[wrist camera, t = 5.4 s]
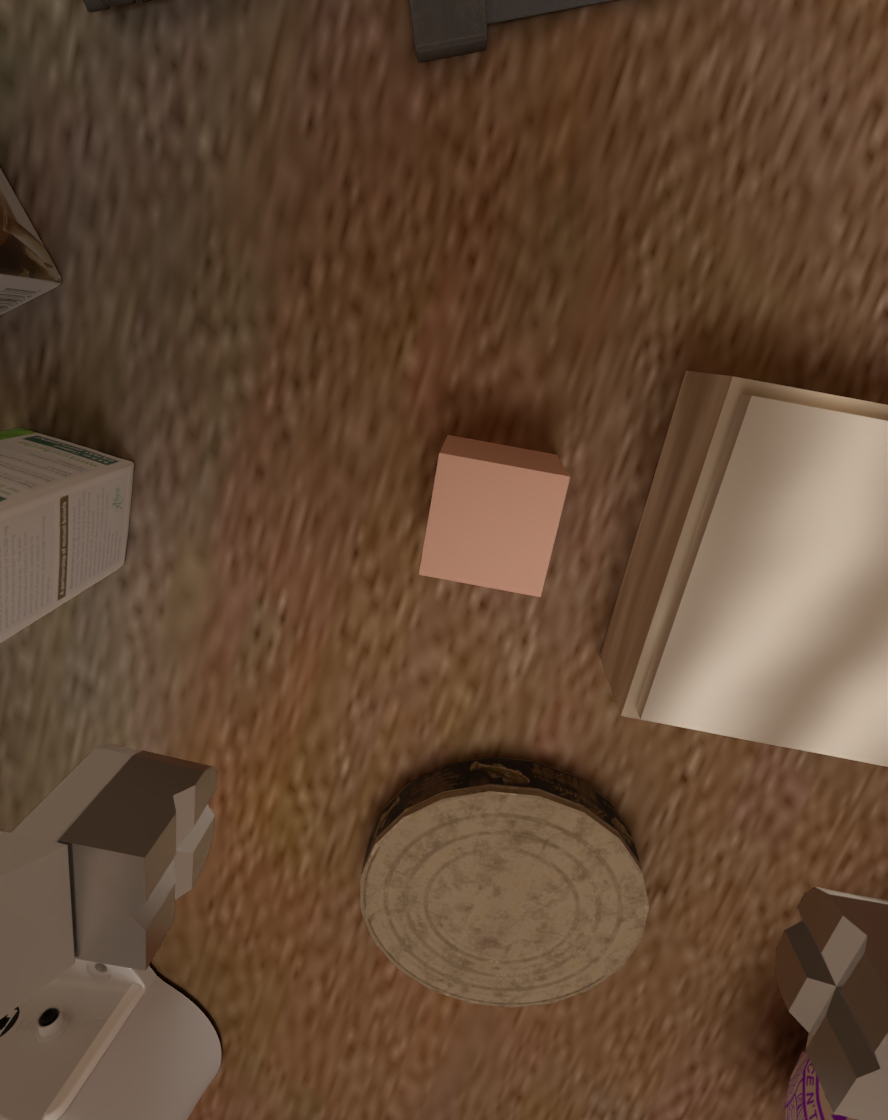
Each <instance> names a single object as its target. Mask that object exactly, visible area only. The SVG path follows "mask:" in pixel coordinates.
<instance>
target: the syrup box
mask: <svg viewBox="0 0 888 1120" xmlns="http://www.w3.org/2000/svg"><path fill="white" fill-rule="evenodd" d="M133 471H134V463H133V462H132V461H128V460H125V459H120V458H118V457H115V456H112V455H109V454H105V453H102V452H99V451H97V450H94V449H91V448H87V447H84V446H81V445H77V444H74V443H71V442H68V441H64V440H61V439H57V438H54V437H50V436H47V435H44V434H40V433H37V432H33V431H30V430H26V429H24V428H15V429H10V430H6V431H1V432H0V643H2V642H3V641H5V640H7V639H8V638H10V637H11V636H13V635H14V634H16V633H18V632H19V631H21V630H22V629H24V628H25V627H27V626H29V625H30V624H32V623H34V622H35V621H36V620H38V619H40V618H41V617H43V616H44V615H46V614H48V613H49V612H51V611H53V610H54V609H56V608H57V607H59V606H60V605H62V604H63V603H65V602H67V601H68V600H70V599H71V598H73V597H75V596H76V595H78V594H80V593H81V592H83V591H84V590H86V589H87V588H89V587H91V586H92V585H94V584H95V583H97V582H99V581H100V580H102V579H103V578H105V577H107V576H108V575H110V574H111V573H113V572H115V571H116V570H118V569H119V568H121V567H122V566H123V565H124V561H125V553H126V546H127V538H128V529H129V518H130V507H131V495H132V484H133Z"/></svg>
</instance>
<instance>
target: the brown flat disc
mask: <svg viewBox="0 0 888 1120" xmlns="http://www.w3.org/2000/svg"><path fill="white" fill-rule="evenodd" d="M360 910H361V913H362V915H363V917H364V920H365V922H366V925H367V927H368V930H369V932H370V935H371V937H372V939H373V942H374V943H375V944H376V945H377V946H378V947H379V948H380V949H381V951H382V952H383V953H384V954H385V955H386V956H387V957H388V959H389V960H390V961H391V962H392V963H393V964H394V965H395V966H396V968H397V969H399V970H400V971H402V972H403V973H405V974H407V975H408V976H410V977H411V978H413V979H414V980H416V981H418V982H419V983H421V984H422V985H424V986H425V987H427V988H429V989H430V990H433V991H436V992H439V993H441V994H444V995H447V996H450V997H453V998H456V999H459V1000H462V1001H465V1002H468V1003H473V1004H482V1005H491V1006H500V1007H509V1008H513V1007H523V1006H532V1005H542V1004H551V1003H555V1002H558V1001H560V1000H563V999H566V998H569V997H572V996H575V995H577V994H580V993H583V992H586V991H589V990H591V989H592V988H594V987H595V986H597V985H598V984H599V983H601V982H602V981H604V980H605V979H606V978H608V977H609V976H611V975H612V974H614V973H615V972H616V971H618V970H619V969H621V968H622V966H623V965H624V963H625V962H626V961H627V959H628V958H629V956H630V955H631V954H632V952H633V951H634V950H635V948H636V947H637V945H638V944H639V943H640V941H641V940H642V936H643V932H644V927H645V923H646V918H647V914H648V910H649V902H648V898H647V893H646V888H645V883H644V878H643V873H642V869H641V866H640V862H639V859H638V855H637V852H636V848H635V845H634V841H633V838H632V835H631V832H630V830H629V829H628V827H627V826H626V824H625V823H624V821H623V820H622V818H621V817H620V815H619V814H618V812H617V811H616V809H615V808H614V806H613V805H612V803H611V802H610V801H609V800H608V799H607V798H605V797H604V796H603V795H601V794H600V793H599V792H597V791H596V790H595V789H593V788H592V787H591V786H589V785H588V784H586V783H585V782H584V781H582V780H581V779H580V778H578V777H577V776H575V775H572V774H569V773H566V772H564V771H561V770H558V769H556V768H553V767H550V766H548V765H545V764H542V763H539V762H537V761H530V760H519V759H508V758H497V757H486V758H480V759H475V760H469V761H463V762H457V763H452V764H446V765H444V766H442V767H440V768H438V769H436V770H434V771H432V772H430V773H428V774H426V775H424V776H422V777H419V778H417V779H415V780H413V781H411V782H409V783H408V784H407V785H406V786H405V787H404V788H403V789H402V790H401V791H400V792H399V793H398V794H397V795H396V796H395V797H394V798H393V799H392V800H391V801H390V802H389V803H388V804H387V805H386V806H385V807H384V808H383V810H382V812H381V815H380V817H379V819H378V821H377V824H376V826H375V828H374V830H373V833H372V835H371V837H370V840H369V844H368V848H367V852H366V856H365V861H364V865H363V869H362V873H361V888H360Z"/></svg>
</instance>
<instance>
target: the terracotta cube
mask: <svg viewBox="0 0 888 1120" xmlns="http://www.w3.org/2000/svg"><path fill="white" fill-rule="evenodd" d="M569 480H570V475H569V474H568V472H567V471H566V469H565V467H564V466H563V464H562V463H561V461H560V459H559V458H558V456H557V455H556V454H551V453H546V452H540V451H535V450H529V449H524V448H518V447H513V446H507V445H502V444H496V443H491V442H485V441H480V440H474V439H469V438H463V437H458V436H452V435H447V437H446V440H445V442H444V444H443V446H442V448H441V450H440V452H439V457H438V463H437V469H436V475H435V481H434V487H433V493H432V499H431V505H430V511H429V517H428V523H427V529H426V535H425V541H424V547H423V553H422V559H421V565H420V571H419V575H424V576H429V577H435V578H440V579H445V580H451V581H456V582H462V583H467V584H472V585H478V586H483V587H489V588H494V589H500V590H505V591H510V592H516V593H521V594H527V595H532V596H537V597H541V594H542V590H543V585H544V581H545V577H546V573H547V569H548V565H549V561H550V557H551V553H552V549H553V545H554V541H555V537H556V533H557V529H558V525H559V521H560V517H561V513H562V509H563V504H564V500H565V496H566V492H567V488H568V484H569Z"/></svg>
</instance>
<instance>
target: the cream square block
mask: <svg viewBox="0 0 888 1120" xmlns="http://www.w3.org/2000/svg"><path fill="white" fill-rule="evenodd" d="M600 658H601V661H602V664H603V666H604V669H605V672H606V675H607V678H608V681H609V683H610V686H611V689H612V692H613V695H614V698H615V700H616V703H617V706H618V709H619V712H620V715H621V716H625V717H630V718H635V719H640V720H646V721H651V722H656V723H661V724H667V725H672V726H677V727H682V728H688V729H693V730H698V731H703V732H709V733H714V734H719V735H724V736H729V737H735V738H740V739H745V740H750V741H756V742H761V743H766V744H771V745H777V746H782V747H787V748H792V749H798V750H803V751H808V752H813V753H818V754H824V755H829V756H834V757H839V758H845V759H850V760H855V761H860V762H866V763H871V764H876V765H881V766H887V767H888V405H885V404H880V403H874V402H869V401H864V400H858V399H853V398H847V397H842V396H837V395H831V394H826V393H820V392H815V391H810V390H804V389H799V388H794V387H788V386H783V385H777V384H772V383H767V382H761V381H756V380H750V379H745V378H740V377H734V376H727V375H719V374H711V373H703V372H695V371H687V370H686V372H685V375H684V379H683V382H682V385H681V388H680V392H679V395H678V398H677V402H676V405H675V408H674V412H673V415H672V418H671V422H670V425H669V428H668V431H667V435H666V438H665V441H664V445H663V448H662V451H661V455H660V458H659V461H658V465H657V468H656V471H655V475H654V478H653V481H652V484H651V488H650V491H649V494H648V498H647V501H646V504H645V508H644V511H643V514H642V518H641V521H640V524H639V527H638V531H637V534H636V537H635V541H634V544H633V547H632V551H631V554H630V557H629V561H628V564H627V567H626V571H625V574H624V577H623V580H622V584H621V587H620V590H619V594H618V597H617V600H616V604H615V607H614V610H613V614H612V617H611V620H610V623H609V627H608V630H607V633H606V637H605V640H604V643H603V647H602V650H601V653H600Z"/></svg>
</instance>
